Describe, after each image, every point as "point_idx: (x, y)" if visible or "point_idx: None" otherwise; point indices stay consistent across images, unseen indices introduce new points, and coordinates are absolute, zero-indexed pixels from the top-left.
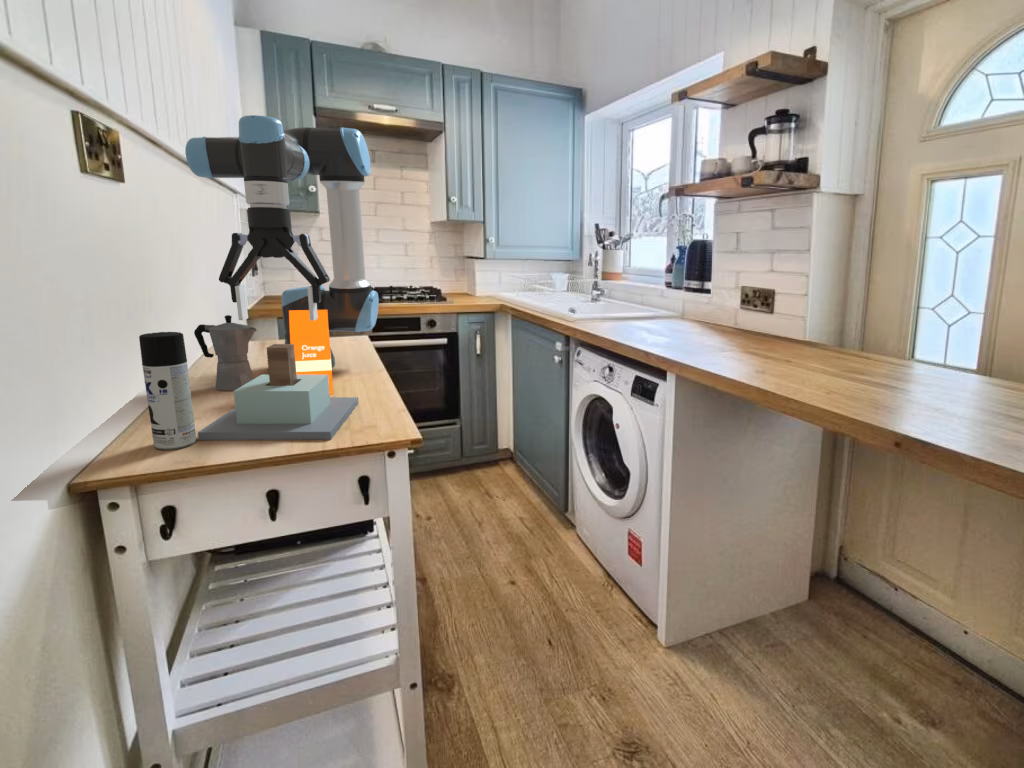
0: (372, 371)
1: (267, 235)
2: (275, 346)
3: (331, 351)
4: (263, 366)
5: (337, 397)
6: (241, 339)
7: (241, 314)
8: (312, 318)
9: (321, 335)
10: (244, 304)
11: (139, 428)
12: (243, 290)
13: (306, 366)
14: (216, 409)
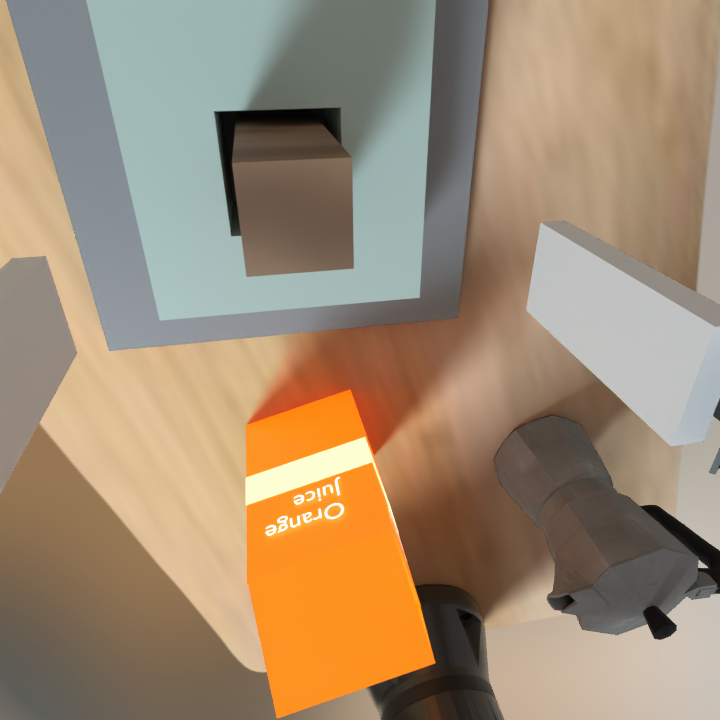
0: (228, 623)
1: None
2: (316, 196)
3: None
4: (520, 606)
5: (182, 343)
6: (578, 552)
7: (564, 235)
8: (17, 265)
9: (276, 571)
10: (584, 319)
11: (695, 43)
12: (652, 385)
13: (324, 462)
14: (530, 250)
